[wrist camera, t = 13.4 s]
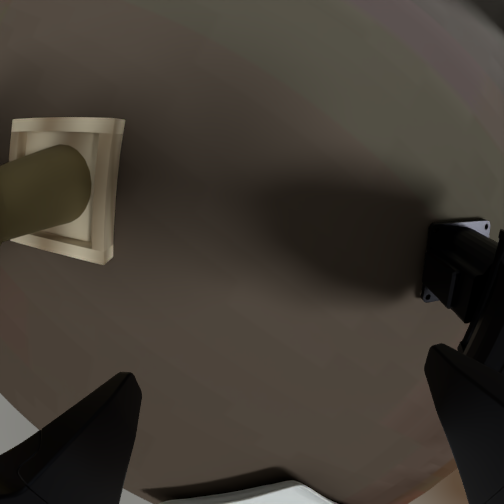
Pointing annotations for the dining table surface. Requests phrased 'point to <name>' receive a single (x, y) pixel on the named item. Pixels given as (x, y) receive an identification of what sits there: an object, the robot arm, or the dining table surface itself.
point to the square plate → (262, 496)
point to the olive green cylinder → (42, 191)
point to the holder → (102, 179)
